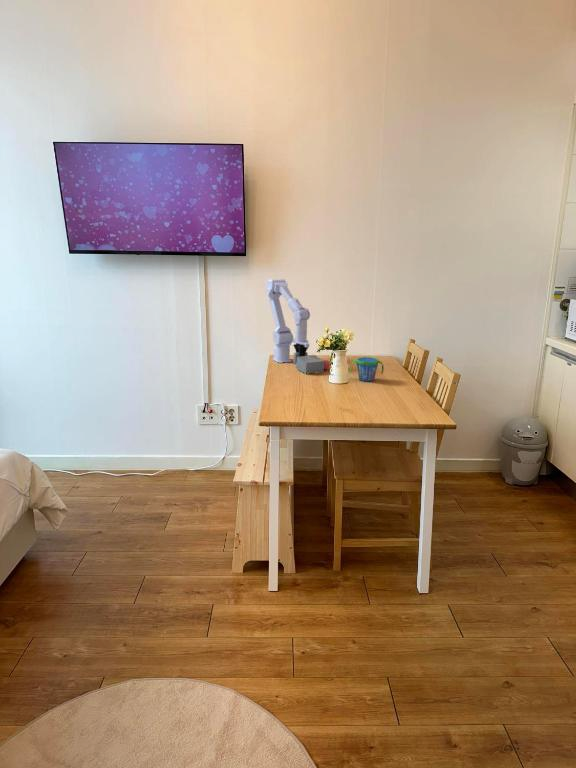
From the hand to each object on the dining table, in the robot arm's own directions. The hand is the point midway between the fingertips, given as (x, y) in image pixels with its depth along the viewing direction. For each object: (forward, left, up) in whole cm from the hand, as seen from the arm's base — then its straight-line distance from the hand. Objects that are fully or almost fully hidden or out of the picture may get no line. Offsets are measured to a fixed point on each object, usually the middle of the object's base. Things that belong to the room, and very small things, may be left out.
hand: (300, 358), depth 293 cm
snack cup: (+36, +17, -5) cm, 40 cm away
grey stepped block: (+7, 0, -4) cm, 8 cm away
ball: (+11, +9, -2) cm, 14 cm away
